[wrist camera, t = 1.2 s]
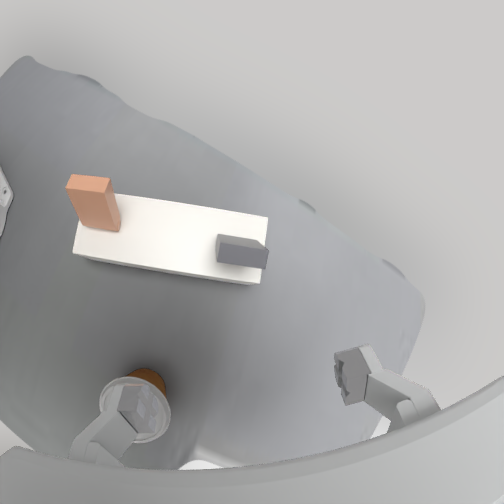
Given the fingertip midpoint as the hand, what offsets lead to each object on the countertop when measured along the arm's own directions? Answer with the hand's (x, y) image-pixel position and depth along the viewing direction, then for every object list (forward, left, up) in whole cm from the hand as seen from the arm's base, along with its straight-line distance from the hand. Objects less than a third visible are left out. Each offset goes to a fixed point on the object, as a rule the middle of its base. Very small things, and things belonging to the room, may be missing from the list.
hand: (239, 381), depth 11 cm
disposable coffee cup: (+4, -15, -35) cm, 38 cm away
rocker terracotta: (-18, -6, -25) cm, 32 cm away
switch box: (-13, +1, -34) cm, 37 cm away
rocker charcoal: (-7, +8, -25) cm, 28 cm away
